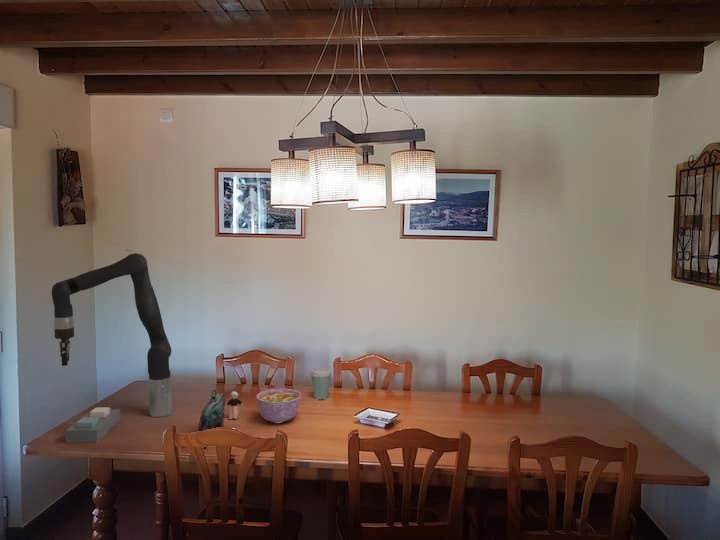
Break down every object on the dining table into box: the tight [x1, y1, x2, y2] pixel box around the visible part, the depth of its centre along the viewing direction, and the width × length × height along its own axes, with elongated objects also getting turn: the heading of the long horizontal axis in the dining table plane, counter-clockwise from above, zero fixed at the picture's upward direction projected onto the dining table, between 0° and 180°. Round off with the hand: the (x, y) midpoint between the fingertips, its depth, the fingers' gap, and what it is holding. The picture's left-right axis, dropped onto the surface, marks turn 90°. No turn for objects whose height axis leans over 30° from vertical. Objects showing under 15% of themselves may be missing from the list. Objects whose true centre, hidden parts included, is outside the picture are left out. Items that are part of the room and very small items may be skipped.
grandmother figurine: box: [225, 391, 244, 420], centre depth 236 cm, size 8×4×13 cm, turn 118°
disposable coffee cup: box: [310, 367, 332, 399], centre depth 267 cm, size 11×11×15 cm
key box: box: [65, 408, 121, 444], centre depth 219 cm, size 12×24×5 cm, turn 4°
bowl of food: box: [255, 388, 302, 423], centre depth 235 cm, size 20×20×12 cm
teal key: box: [76, 416, 99, 428], centre depth 213 cm, size 6×6×3 cm
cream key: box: [89, 406, 111, 417], centre depth 224 cm, size 6×6×3 cm
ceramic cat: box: [198, 389, 226, 432], centre depth 212 cm, size 20×6×20 cm, turn 174°
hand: (65, 363), depth 229 cm, fingers open, 8 cm apart
